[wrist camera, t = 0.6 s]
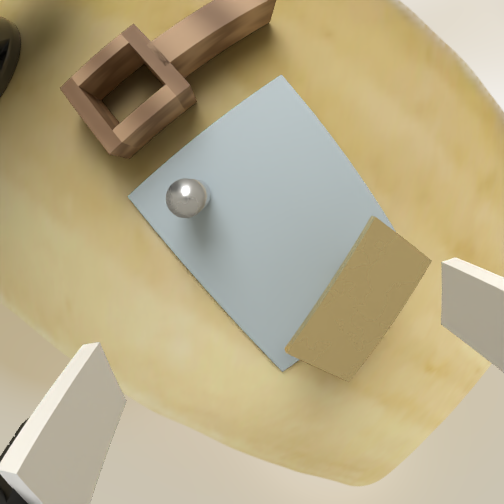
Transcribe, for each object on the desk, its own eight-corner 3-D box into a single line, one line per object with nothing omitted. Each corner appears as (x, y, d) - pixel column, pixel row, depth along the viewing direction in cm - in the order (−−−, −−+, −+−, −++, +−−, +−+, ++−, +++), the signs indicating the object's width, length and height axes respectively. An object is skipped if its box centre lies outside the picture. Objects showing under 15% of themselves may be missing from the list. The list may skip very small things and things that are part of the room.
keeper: (271, 308, 35) (286, 353, 26) (336, 206, 33) (375, 216, 24) (321, 335, 36) (348, 381, 27) (383, 240, 35) (431, 260, 25)
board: (129, 196, 32) (127, 196, 31) (280, 76, 30) (281, 74, 30) (281, 369, 37) (282, 371, 36) (412, 264, 36) (415, 265, 35)
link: (129, 158, 31) (109, 154, 25) (84, 101, 29) (59, 88, 23) (287, 40, 29) (298, 15, 23) (235, -11, 27) (237, -39, 22)
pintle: (175, 192, 32) (157, 196, 24) (198, 173, 32) (188, 170, 23) (194, 215, 33) (182, 226, 24) (217, 196, 32) (213, 200, 24)
